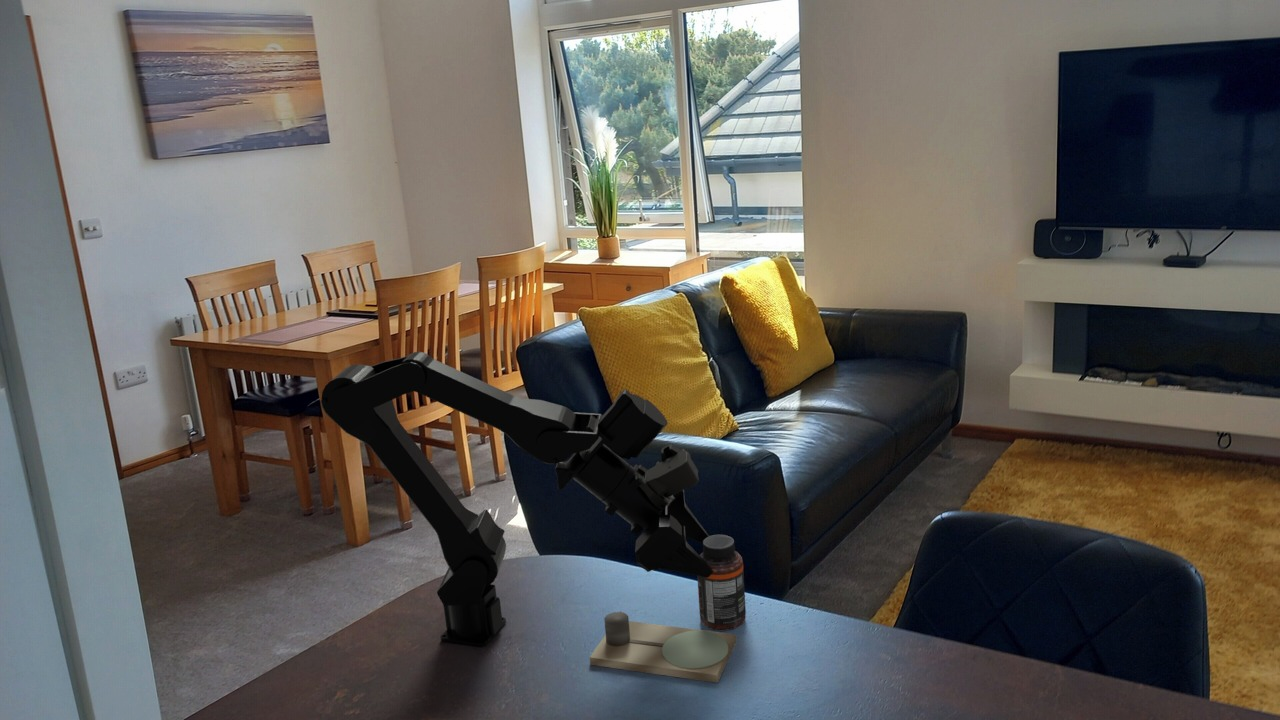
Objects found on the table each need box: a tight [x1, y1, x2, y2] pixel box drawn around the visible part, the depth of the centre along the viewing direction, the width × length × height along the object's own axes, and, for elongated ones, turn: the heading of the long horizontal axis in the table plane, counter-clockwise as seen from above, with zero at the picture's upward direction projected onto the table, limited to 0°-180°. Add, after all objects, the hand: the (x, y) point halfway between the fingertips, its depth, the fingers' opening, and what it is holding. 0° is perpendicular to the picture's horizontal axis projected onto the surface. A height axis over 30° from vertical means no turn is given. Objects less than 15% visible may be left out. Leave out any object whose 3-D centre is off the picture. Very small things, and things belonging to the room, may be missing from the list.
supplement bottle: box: [696, 534, 747, 632], centre depth 125 cm, size 6×6×11 cm
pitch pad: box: [662, 630, 728, 669], centre depth 118 cm, size 8×8×1 cm
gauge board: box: [589, 611, 738, 684], centre depth 120 cm, size 16×9×4 cm, turn 70°
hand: (709, 557), depth 124 cm, fingers open, 9 cm apart
